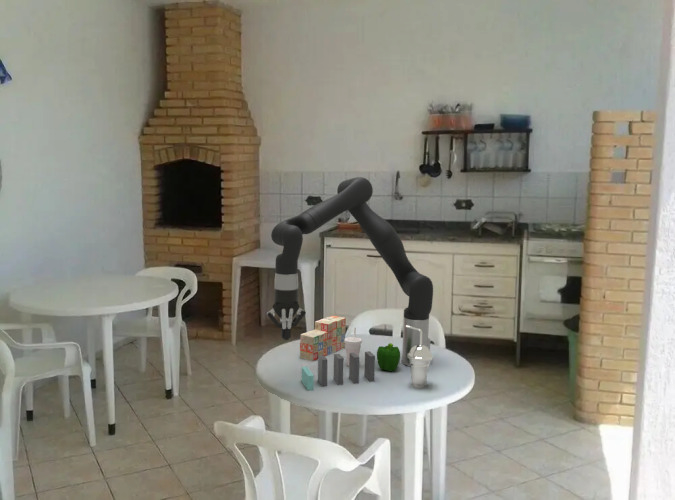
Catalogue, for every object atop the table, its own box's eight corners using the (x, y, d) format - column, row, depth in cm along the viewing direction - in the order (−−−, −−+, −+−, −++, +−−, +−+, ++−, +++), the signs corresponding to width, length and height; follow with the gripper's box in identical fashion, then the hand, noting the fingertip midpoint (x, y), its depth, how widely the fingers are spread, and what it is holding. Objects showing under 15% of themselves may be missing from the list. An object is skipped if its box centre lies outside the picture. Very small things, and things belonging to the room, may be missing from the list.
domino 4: (353, 377, 218) (354, 352, 217) (358, 383, 214) (359, 357, 212) (348, 378, 218) (349, 352, 217) (353, 383, 213) (354, 357, 212)
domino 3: (338, 379, 217) (339, 353, 215) (343, 384, 212) (343, 358, 211) (333, 379, 216) (334, 354, 215) (337, 385, 212) (338, 358, 210)
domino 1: (313, 390, 207) (306, 380, 215) (313, 375, 206) (306, 366, 214) (308, 390, 206) (301, 381, 215) (308, 375, 205) (301, 366, 214)
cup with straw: (421, 391, 207) (424, 331, 204) (399, 384, 213) (401, 326, 210) (436, 385, 213) (439, 326, 210) (414, 378, 219) (417, 321, 216)
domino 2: (322, 380, 215) (323, 354, 214) (327, 385, 210) (327, 359, 209) (317, 381, 215) (318, 355, 213) (321, 386, 210) (322, 360, 209)
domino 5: (369, 376, 220) (369, 351, 219) (374, 381, 215) (375, 355, 214) (364, 377, 219) (364, 351, 218) (369, 382, 215) (369, 356, 213)
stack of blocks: (313, 361, 235) (313, 329, 233) (299, 358, 238) (299, 326, 236) (345, 347, 252) (346, 317, 250) (332, 344, 256) (332, 314, 254)
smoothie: (359, 368, 228) (360, 330, 225) (341, 367, 229) (342, 329, 227) (362, 363, 234) (363, 326, 232) (345, 361, 235) (346, 324, 233)
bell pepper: (376, 365, 232) (376, 338, 231) (398, 365, 232) (399, 339, 230) (376, 372, 224) (377, 345, 222) (400, 373, 224) (401, 346, 222)
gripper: (303, 283, 209) (302, 335, 212) (263, 285, 205) (263, 337, 208) (309, 288, 202) (308, 341, 205) (268, 290, 198) (267, 344, 201)
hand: (285, 339), depth 206 cm, fingers closed
